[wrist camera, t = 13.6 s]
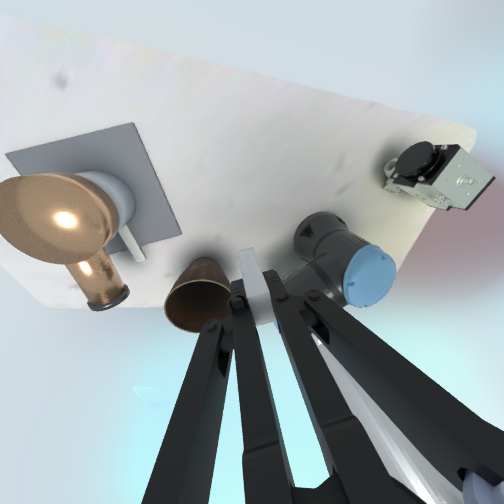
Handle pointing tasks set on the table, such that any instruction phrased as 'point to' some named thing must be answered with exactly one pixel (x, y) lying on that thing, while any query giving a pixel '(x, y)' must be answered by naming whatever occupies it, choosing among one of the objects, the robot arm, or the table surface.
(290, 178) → the table surface
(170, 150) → the table surface
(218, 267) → the plant pot
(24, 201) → the copper flat bottle shape
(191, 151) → the table surface
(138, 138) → the duct stub
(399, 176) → the ball valve
